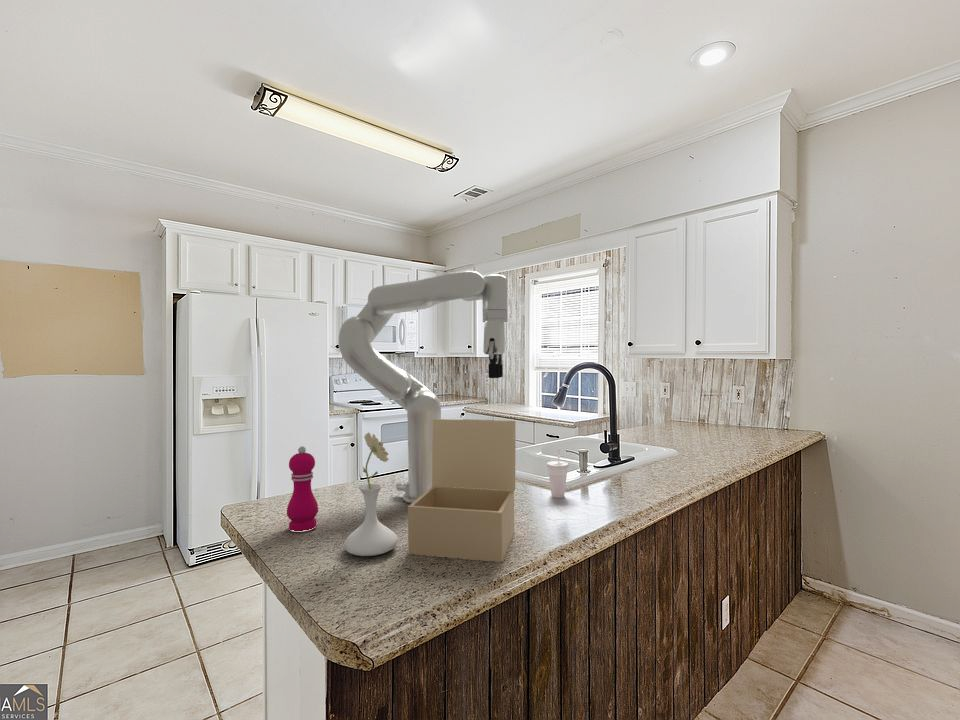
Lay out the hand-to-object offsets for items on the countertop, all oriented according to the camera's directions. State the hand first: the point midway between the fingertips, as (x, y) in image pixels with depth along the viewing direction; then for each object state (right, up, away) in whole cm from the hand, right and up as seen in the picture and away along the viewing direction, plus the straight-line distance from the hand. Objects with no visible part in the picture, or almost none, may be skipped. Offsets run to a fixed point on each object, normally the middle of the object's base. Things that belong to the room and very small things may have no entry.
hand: (495, 376), depth 141 cm
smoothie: (+18, -35, -2) cm, 40 cm away
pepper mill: (-48, -36, -27) cm, 66 cm away
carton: (-8, -36, -37) cm, 52 cm away
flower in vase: (-28, -36, -39) cm, 60 cm away
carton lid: (-6, -17, -28) cm, 34 cm away
